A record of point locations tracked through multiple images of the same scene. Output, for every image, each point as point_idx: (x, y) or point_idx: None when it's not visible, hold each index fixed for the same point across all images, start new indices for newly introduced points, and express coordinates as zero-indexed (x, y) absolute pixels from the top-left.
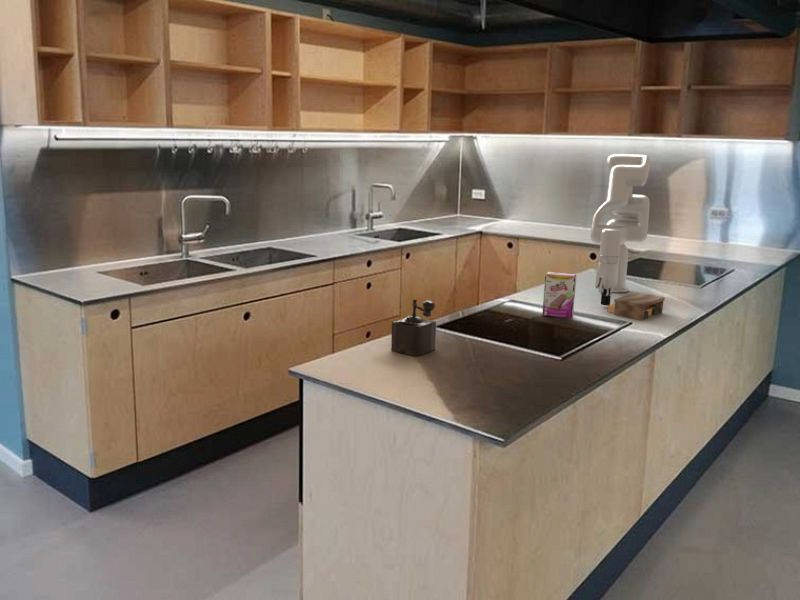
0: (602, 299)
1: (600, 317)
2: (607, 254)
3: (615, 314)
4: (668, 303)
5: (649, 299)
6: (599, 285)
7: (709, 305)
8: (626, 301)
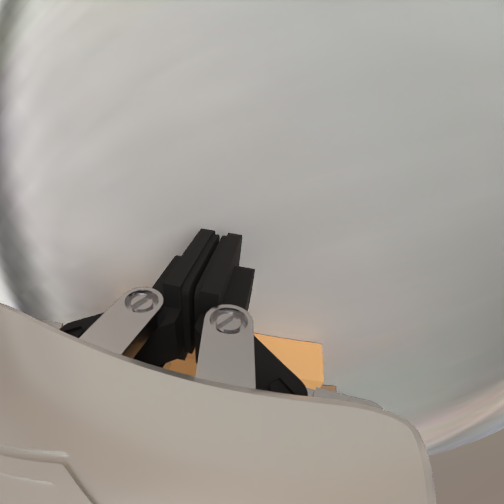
0: (163, 276)
1: (30, 293)
2: None
3: None
4: (463, 410)
5: None
6: (39, 359)
7: (449, 447)
8: None
